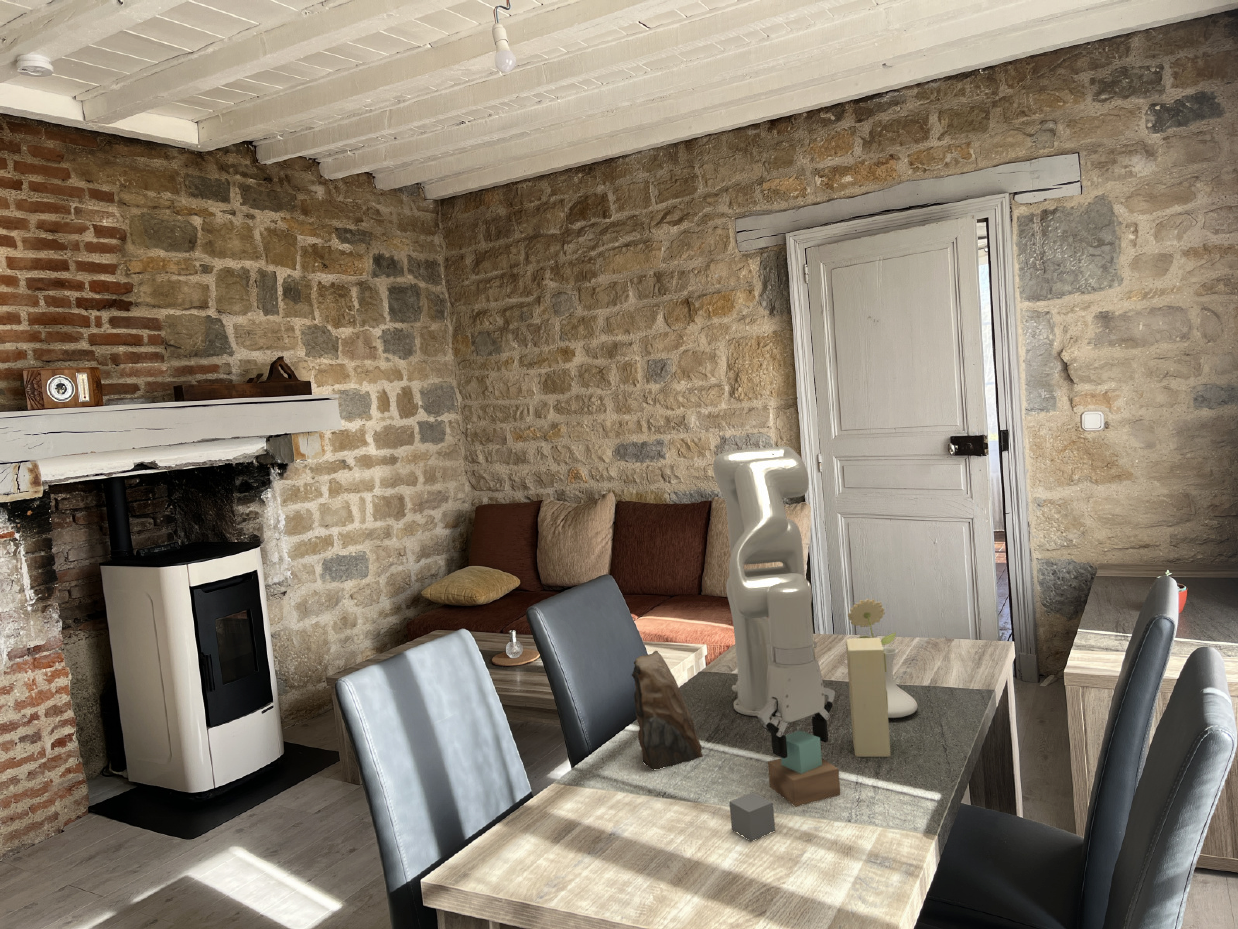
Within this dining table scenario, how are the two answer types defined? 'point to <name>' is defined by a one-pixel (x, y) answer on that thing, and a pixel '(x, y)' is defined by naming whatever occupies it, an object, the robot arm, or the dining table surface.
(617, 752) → the dining table surface
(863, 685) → the tall cream block
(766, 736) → the dining table surface
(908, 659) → the dining table surface
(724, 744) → the dining table surface
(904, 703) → the flower in vase
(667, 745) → the brown rock
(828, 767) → the walnut block
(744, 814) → the grey cube
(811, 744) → the teal cube
